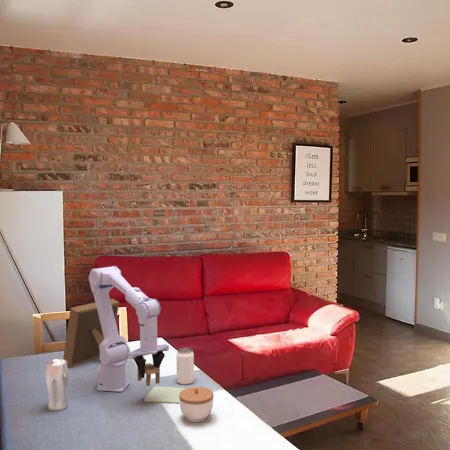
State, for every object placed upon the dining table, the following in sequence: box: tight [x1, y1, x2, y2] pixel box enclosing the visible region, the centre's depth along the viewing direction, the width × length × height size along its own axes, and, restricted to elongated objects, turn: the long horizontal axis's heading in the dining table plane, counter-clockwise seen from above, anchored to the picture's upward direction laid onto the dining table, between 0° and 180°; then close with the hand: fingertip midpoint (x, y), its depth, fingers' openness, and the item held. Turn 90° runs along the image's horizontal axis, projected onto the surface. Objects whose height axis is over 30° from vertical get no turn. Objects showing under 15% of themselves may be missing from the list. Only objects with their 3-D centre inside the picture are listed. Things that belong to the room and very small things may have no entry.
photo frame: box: [62, 298, 120, 369], centre depth 197 cm, size 15×22×25 cm
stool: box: [137, 362, 161, 387], centre depth 159 cm, size 7×5×5 cm, turn 38°
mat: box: [143, 385, 187, 405], centre depth 165 cm, size 12×12×1 cm
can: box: [176, 347, 195, 385], centre depth 177 cm, size 6×6×12 cm
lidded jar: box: [179, 386, 214, 423], centre depth 148 cm, size 11×11×9 cm
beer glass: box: [45, 358, 69, 412], centre depth 155 cm, size 7×7×15 cm
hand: (149, 375), depth 159 cm, fingers closed on stool, 5 cm apart
